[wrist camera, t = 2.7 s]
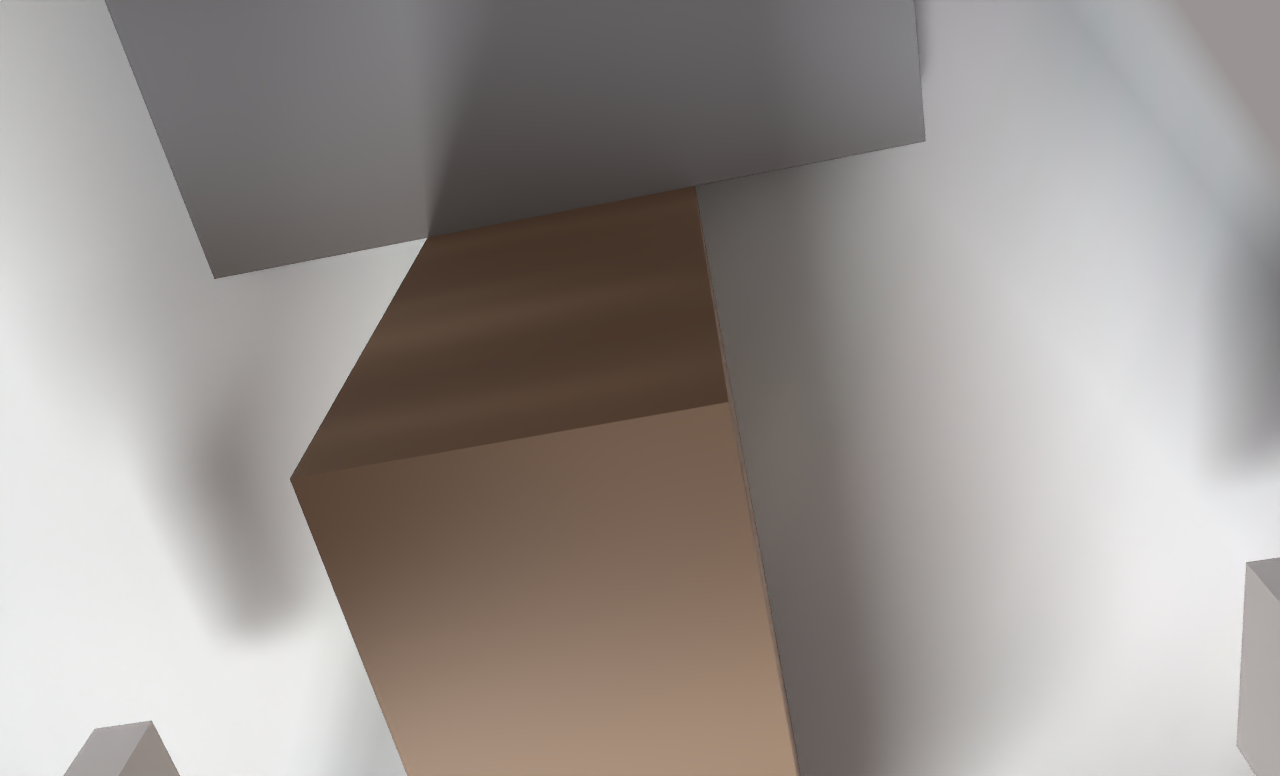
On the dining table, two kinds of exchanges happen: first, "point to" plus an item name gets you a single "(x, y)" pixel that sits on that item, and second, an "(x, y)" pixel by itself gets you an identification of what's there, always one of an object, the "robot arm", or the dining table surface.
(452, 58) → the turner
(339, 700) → the dining table surface
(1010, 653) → the dining table surface
